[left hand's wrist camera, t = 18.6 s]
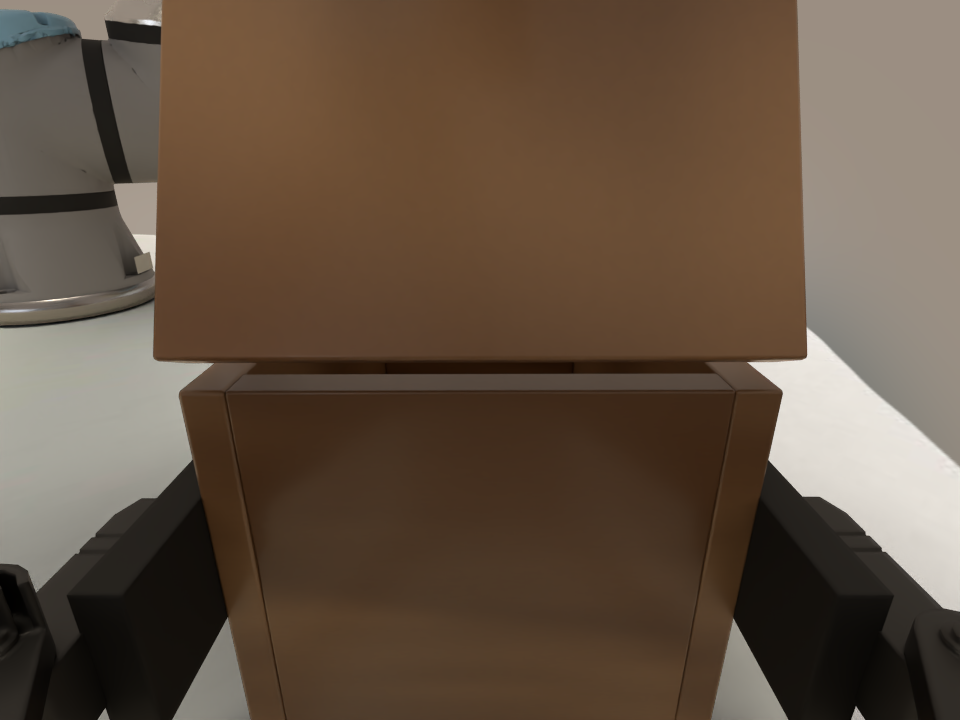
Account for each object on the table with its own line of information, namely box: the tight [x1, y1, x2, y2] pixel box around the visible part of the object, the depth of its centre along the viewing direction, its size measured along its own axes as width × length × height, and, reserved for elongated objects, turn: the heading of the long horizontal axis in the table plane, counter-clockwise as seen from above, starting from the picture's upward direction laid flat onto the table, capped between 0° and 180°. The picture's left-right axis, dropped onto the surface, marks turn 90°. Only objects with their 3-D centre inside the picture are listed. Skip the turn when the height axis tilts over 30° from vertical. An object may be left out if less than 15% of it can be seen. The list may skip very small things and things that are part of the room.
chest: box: [179, 362, 783, 720], centre depth 17 cm, size 15×10×10 cm, turn 0°
